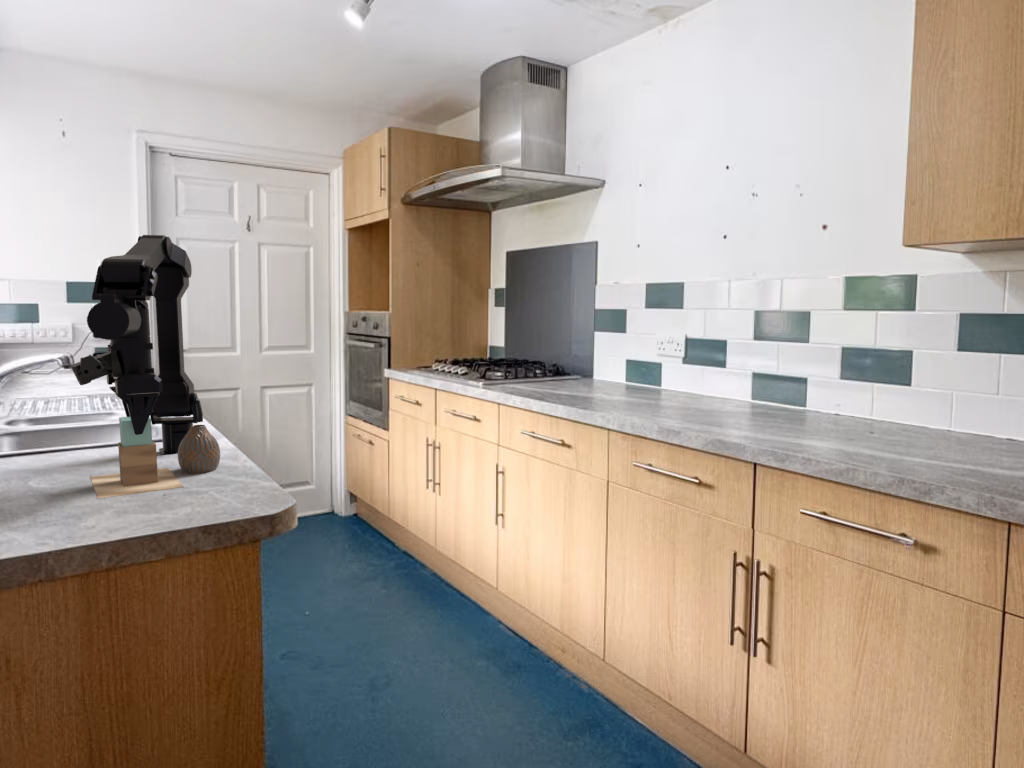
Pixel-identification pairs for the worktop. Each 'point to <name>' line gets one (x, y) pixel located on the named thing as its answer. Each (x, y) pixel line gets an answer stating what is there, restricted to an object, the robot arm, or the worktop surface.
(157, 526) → the worktop surface
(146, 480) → the tower base
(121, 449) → the tower top
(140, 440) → the cube
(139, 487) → the beech board
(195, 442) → the vase
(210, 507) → the worktop surface
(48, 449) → the worktop surface
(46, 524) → the worktop surface
